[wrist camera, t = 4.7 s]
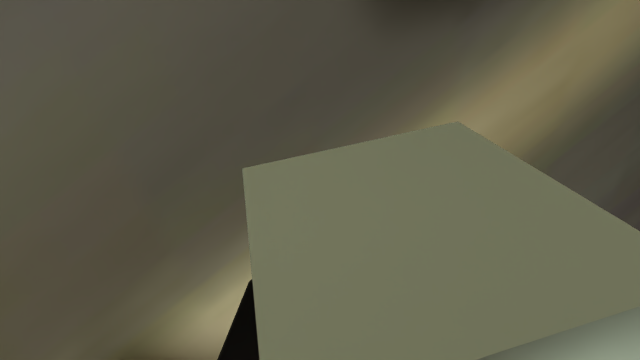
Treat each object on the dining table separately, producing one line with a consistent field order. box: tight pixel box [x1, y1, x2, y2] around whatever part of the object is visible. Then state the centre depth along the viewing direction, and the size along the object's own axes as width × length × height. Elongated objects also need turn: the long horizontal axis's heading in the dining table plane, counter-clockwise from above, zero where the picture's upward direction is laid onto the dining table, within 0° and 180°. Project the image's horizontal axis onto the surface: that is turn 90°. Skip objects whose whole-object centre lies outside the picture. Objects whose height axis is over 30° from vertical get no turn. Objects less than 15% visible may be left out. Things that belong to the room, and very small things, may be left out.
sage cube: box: [242, 122, 640, 360], centre depth 7 cm, size 5×5×5 cm
